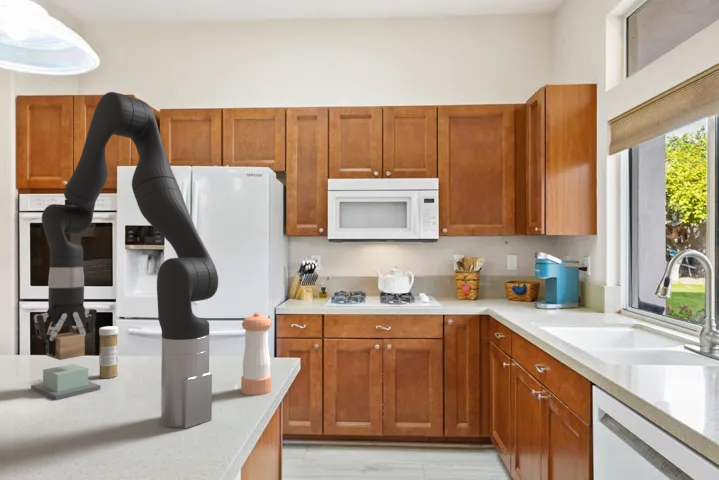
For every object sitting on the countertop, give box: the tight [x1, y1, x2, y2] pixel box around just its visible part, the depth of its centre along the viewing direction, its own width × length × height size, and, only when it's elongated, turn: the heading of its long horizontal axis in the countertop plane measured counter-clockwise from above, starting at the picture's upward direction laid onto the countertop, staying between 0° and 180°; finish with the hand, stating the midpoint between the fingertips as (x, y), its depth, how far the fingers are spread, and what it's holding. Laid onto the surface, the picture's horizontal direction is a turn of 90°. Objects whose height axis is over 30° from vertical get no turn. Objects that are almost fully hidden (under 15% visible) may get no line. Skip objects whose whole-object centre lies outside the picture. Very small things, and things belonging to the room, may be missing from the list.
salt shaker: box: [240, 312, 273, 396], centre depth 118 cm, size 7×7×19 cm
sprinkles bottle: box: [98, 325, 119, 379], centre depth 130 cm, size 5×5×14 cm
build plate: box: [30, 363, 101, 401], centre depth 118 cm, size 14×10×5 cm
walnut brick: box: [46, 332, 86, 361], centre depth 118 cm, size 7×6×5 cm
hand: (65, 353), depth 118 cm, fingers closed on walnut brick, 5 cm apart
